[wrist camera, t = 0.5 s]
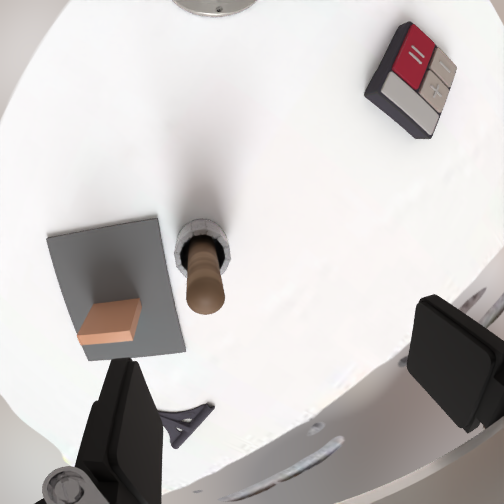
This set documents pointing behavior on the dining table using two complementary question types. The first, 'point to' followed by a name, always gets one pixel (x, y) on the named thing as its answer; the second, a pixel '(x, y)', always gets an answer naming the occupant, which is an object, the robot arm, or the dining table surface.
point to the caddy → (199, 229)
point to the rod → (204, 276)
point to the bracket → (184, 423)
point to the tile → (110, 322)
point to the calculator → (412, 81)
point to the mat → (119, 284)
